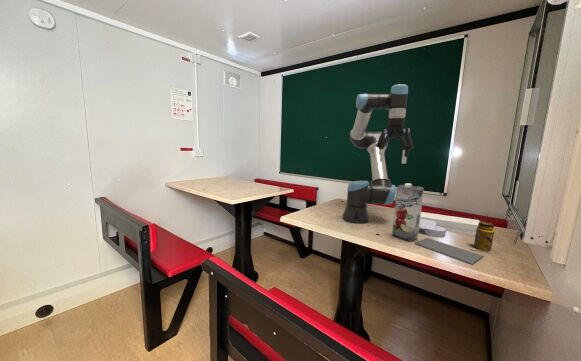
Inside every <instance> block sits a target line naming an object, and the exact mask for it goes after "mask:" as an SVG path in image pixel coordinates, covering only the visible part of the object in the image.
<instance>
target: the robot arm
mask: <svg viewBox="0 0 581 361" xmlns="http://www.w3.org/2000/svg"><path fill="white" fill-rule="evenodd" d="M408 94H409V86H408V85H407V84H405V83H404V84H402V83H400V84H394V85H392V86H391V89H390V93H359V94H357V96H356V99H355V100H356V101H355V105H356V106H355V107H356V109H358V110H357V113H356V118H355V121H354V124H353V128H352V129H351V130H350V133H349V139H350V142H351V143H352V144H353V146H355V147H356V148H358V149H365V150H366V151H367V152H368V153H369V156H370V165H371V176H372V178H371V179H372V180H371V181H370V182H369V180H354V181H350V182H349V183H348V185H347V191H346V192H347V194H346V195H347V196H346V205H345V206H346V207H345V209H344V210H343V213H342V219H343V221H346V222H347V223H348V222H349V223H354V224H367V223H369V221H370V216H369V212H368V209H367V208H368V204H373V205H392V204H393V203H394V202H395V198H396V191H397V186H396V185H395V184H392V182H391V180H390V179H389V177H388V170H387V165H386V158H385V152H386V149H387V148H388V145H389V142H390V140H391V139H392V138H398V140H399V141H400V143H401V145H402V146H403V148H404V149H403V150H402V157H401V164H402V165H403V164H407V160H408V157H409V154H410V150H413V149H414V148H415V147H414V143H413V139H412V135H411V128H407V127H406V128H404V127H405V123H406V122H405V121H406V114H407V103H408ZM373 110H386V111H388V118H389V119H388V120H387V128H386V129H385V128H382V129H381V131H366V128H367V126H368V124H369V121H370V118H371V115H372V112H373ZM403 133H404V135H405V136H404V135H403Z"/></svg>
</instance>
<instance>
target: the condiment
mask: <svg viewBox="0 0 581 361" xmlns="http://www.w3.org/2000/svg"><path fill="white" fill-rule="evenodd" d="M494 227H495V225H494V223H491V222H487V221H480V222H479V224H478V227H477V229H476V235H474V241H473V242H474V243H468V242H465V244H466V245H467V247H468V248H469V249H470V250H472V251H473V250H474V251H480V252H483V253H484V252H485V253H490V254H495V252H494V250H492V246H493V241H494V235H495V231H494V229H495V228H494Z"/></svg>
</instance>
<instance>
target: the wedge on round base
mask: <svg viewBox="0 0 581 361" xmlns="http://www.w3.org/2000/svg"><path fill="white" fill-rule="evenodd" d="M419 228H421V229H424V234H426V235H427V236H430V237H433V238H445V237H446V234H447V232H446V229H445V228H443V227H440V226H436V222H435V221H430V220H424V219H420V225H419Z"/></svg>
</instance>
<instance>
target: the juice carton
mask: <svg viewBox="0 0 581 361" xmlns="http://www.w3.org/2000/svg"><path fill="white" fill-rule="evenodd" d="M424 189H425V188H424V187H423V186H414V185H413V184H412V183H404V184H399V185H396V194H395V198H394V209H393V210H394V211H393V218H392V219H393V220H392V236H393V237H396V238H399V239H401V240H403V241H406V242H407V241H408V242H411V241H413V240H416V239H417V238H418V235H419V231H420V227H419V225H420V217H421V212H422V208H423V197H424Z"/></svg>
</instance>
